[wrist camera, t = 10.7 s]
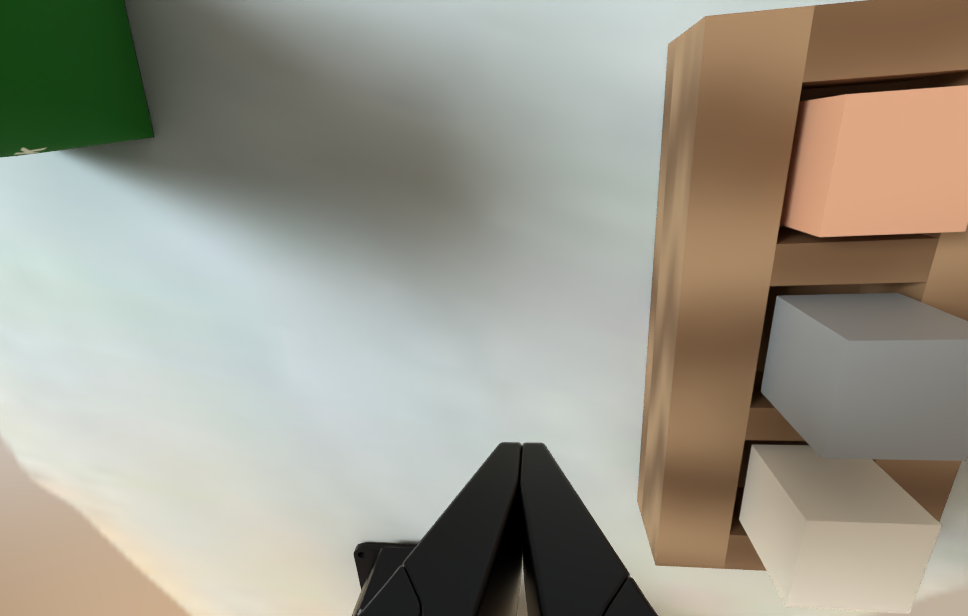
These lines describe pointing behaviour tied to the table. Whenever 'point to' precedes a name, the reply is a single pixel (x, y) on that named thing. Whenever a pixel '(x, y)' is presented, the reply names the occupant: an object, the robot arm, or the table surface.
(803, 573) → the ivory key
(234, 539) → the table surface
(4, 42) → the milk carton
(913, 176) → the orange cube
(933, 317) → the grey cube
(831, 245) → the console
